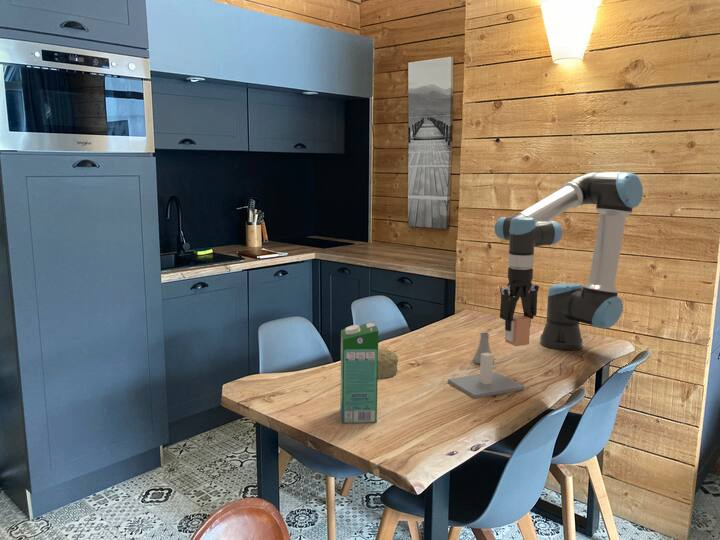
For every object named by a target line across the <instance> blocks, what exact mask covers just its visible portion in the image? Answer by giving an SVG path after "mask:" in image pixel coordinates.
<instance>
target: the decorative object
mask: <svg viewBox="0 0 720 540" xmlns="http://www.w3.org/2000/svg"><path fill="white" fill-rule="evenodd" d="M398 362H399V359H398V355H397V354H396V353H395V352H394V351H393V350H390V349H388V348H384V349H383V348H382V349H381V348H378V378H379V379H384V378H385V379H386V378H392V377H394V376H396V375H397V373H398Z"/></svg>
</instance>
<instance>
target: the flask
mask: <svg viewBox="0 0 720 540" xmlns="http://www.w3.org/2000/svg"><path fill="white" fill-rule="evenodd" d="M479 335H480V339H479V343H478V346H477V349H476V351H475V353H474V355H473V357H472V361H473V363H475V364H479V365H480V363H481V354H482V353H490V354H492V350H491V346H490V339H489V337H490V333H489V332H485V331H483V332H480V333H479ZM492 355H493V354H492ZM493 363H495V360H494V358H493Z"/></svg>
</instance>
